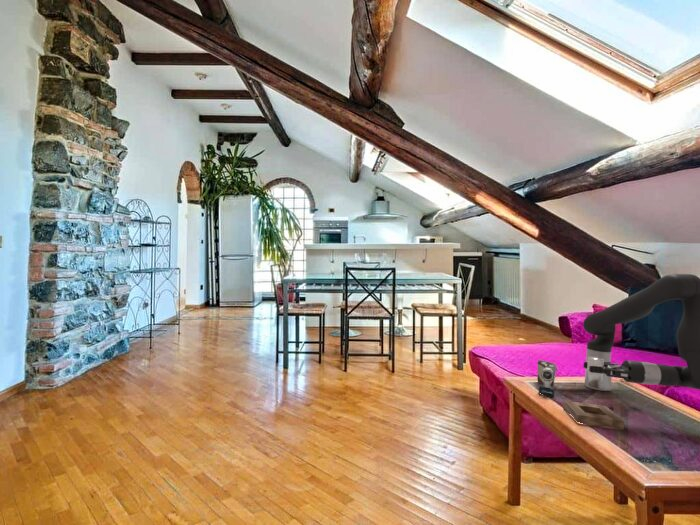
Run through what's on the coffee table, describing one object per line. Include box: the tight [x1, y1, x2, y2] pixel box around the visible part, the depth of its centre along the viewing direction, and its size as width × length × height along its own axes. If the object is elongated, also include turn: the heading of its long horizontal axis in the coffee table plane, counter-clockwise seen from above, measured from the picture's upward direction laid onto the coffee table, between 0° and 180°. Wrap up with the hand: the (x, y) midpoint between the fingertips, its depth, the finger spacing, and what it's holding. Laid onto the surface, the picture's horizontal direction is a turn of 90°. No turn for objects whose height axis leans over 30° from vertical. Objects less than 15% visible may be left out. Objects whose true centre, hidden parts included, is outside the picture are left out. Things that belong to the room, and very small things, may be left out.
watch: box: [538, 367, 556, 398], centre depth 157 cm, size 6×8×11 cm
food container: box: [536, 359, 558, 387], centre depth 169 cm, size 12×6×10 cm, turn 171°
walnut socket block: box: [563, 400, 625, 431], centre depth 133 cm, size 14×14×4 cm
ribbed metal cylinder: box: [586, 357, 604, 388], centre depth 135 cm, size 5×5×10 cm
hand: (587, 366), depth 135 cm, fingers closed on ribbed metal cylinder, 4 cm apart
